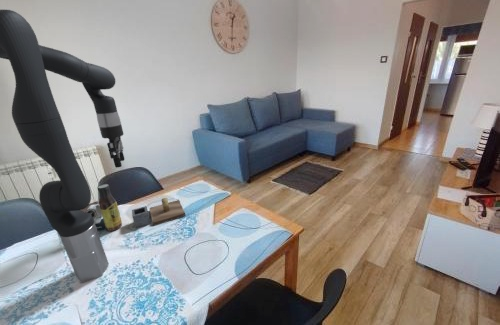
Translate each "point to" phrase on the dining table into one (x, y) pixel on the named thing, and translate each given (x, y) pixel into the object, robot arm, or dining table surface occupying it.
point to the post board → (166, 211)
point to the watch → (96, 216)
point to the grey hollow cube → (140, 217)
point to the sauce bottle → (109, 208)
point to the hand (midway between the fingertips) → (120, 163)
